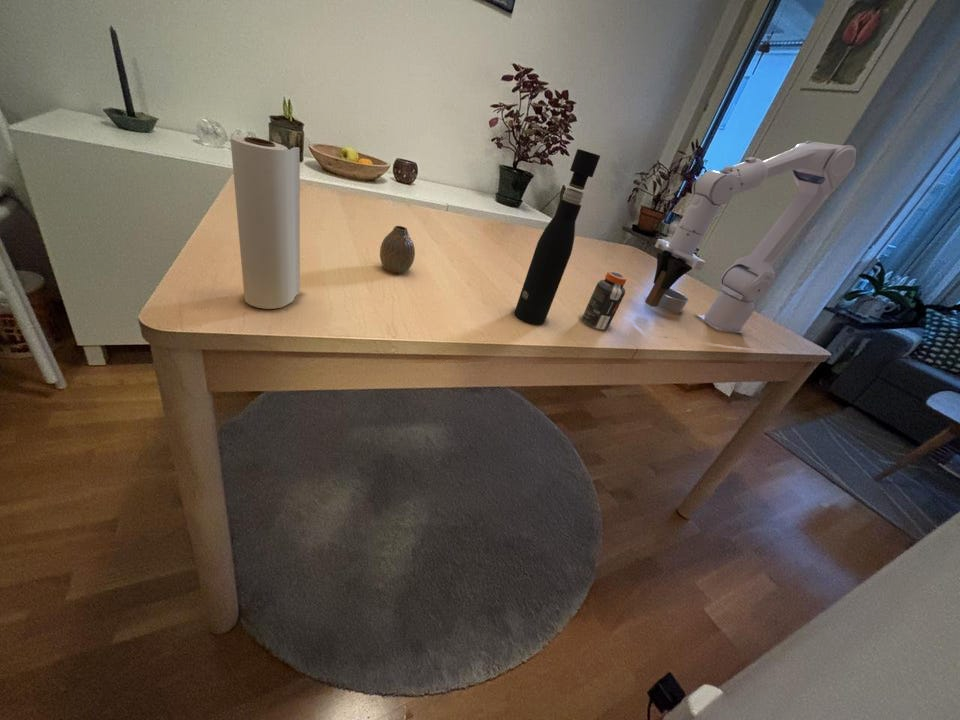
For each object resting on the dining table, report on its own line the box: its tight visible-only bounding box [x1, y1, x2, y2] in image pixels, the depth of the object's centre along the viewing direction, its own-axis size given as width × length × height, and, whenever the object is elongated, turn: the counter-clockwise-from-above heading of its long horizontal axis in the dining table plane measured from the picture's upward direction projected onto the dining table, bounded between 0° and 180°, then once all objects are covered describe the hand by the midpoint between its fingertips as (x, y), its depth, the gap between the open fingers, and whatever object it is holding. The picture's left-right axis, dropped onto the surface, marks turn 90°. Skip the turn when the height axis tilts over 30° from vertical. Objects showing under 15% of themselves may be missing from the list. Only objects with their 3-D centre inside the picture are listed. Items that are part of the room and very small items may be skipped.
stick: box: [644, 270, 667, 308], centre depth 92 cm, size 2×2×8 cm
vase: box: [379, 225, 416, 275], centre depth 76 cm, size 7×7×9 cm
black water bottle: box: [514, 148, 601, 326], centre depth 68 cm, size 6×6×30 cm
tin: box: [657, 287, 689, 314], centre depth 105 cm, size 9×9×4 cm
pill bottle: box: [581, 270, 628, 330], centre depth 79 cm, size 6×6×11 cm
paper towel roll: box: [229, 135, 301, 310], centre depth 51 cm, size 7×6×21 cm
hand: (660, 286), depth 91 cm, fingers closed on stick, 2 cm apart
